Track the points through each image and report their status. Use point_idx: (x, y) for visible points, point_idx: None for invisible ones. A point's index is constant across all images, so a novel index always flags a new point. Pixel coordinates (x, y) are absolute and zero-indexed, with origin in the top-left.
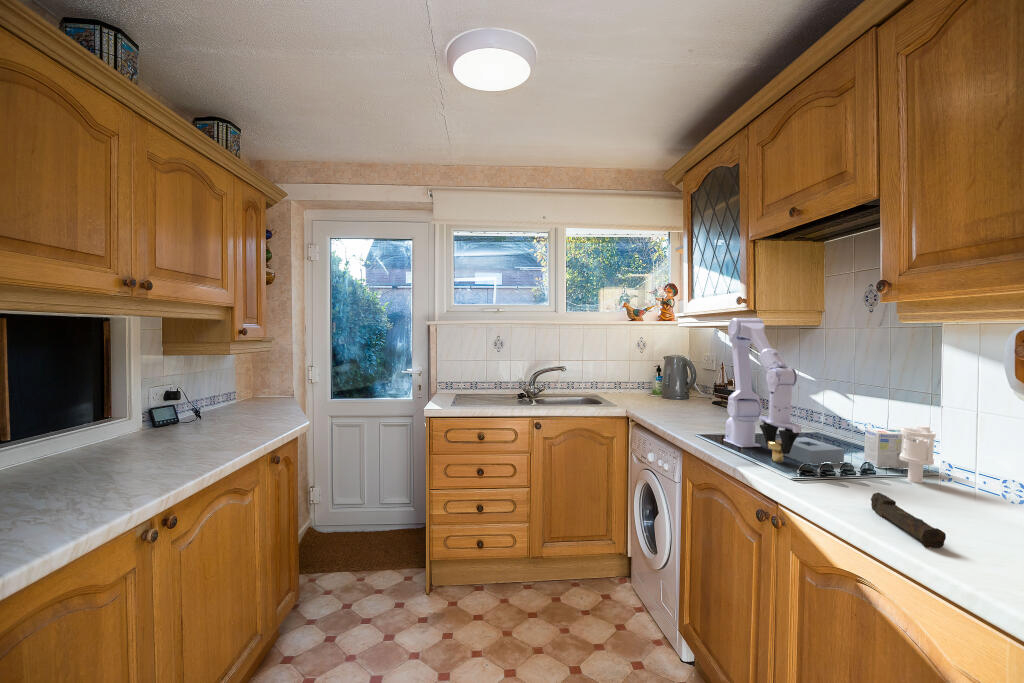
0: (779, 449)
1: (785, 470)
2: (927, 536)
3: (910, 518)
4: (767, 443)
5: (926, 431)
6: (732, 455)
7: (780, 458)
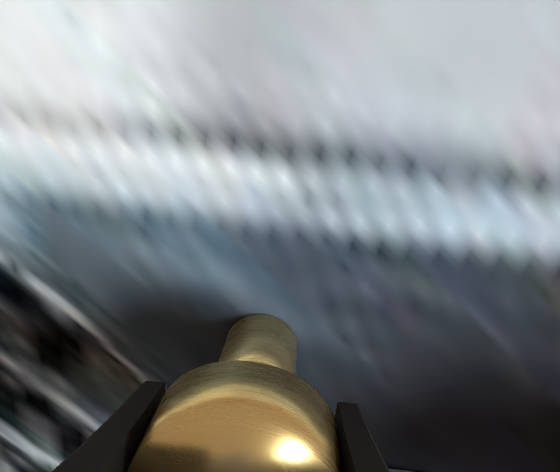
0: (166, 398)
1: (71, 236)
2: None
3: None
4: (347, 438)
5: None
6: (532, 117)
7: (220, 358)
